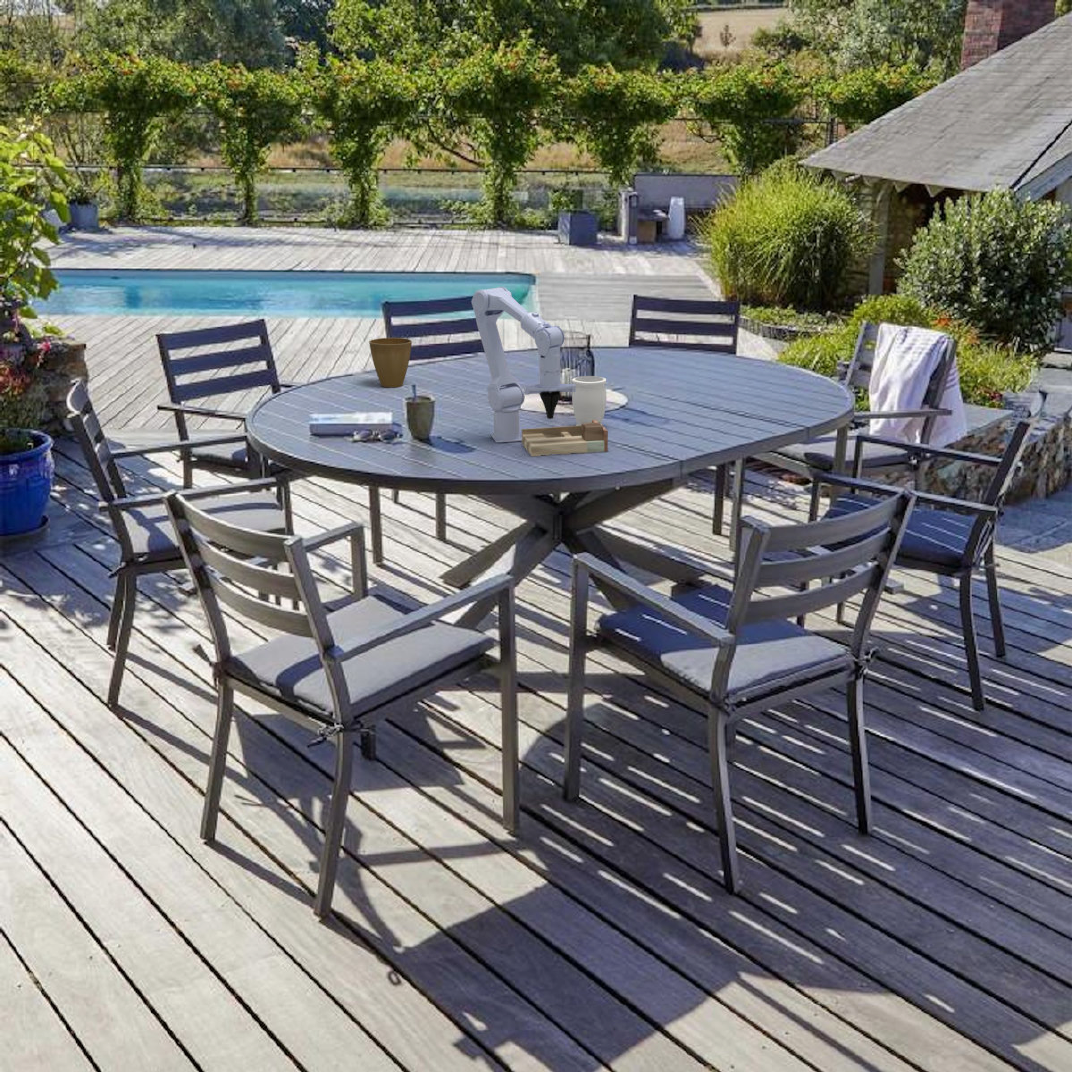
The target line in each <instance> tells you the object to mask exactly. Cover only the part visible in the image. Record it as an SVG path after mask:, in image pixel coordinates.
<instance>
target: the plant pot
mask: <svg viewBox="0 0 1072 1072" xmlns="http://www.w3.org/2000/svg"><path fill="white" fill-rule="evenodd" d="M368 343H369V349H370V353H371V358H372V362H373V366H374V369H375V370H374V371H375V373H376V376H377V378H378V381H379V383H380V386H381V387H383V386H385V387H384V388H389V387H393V388H400V387H403V384H404V382H405V379H406V375H407V371H408V368H409V363H410V358H411V350H412V343H413V340H412V339H410V338H404V337H382V338H380V337H379V338H375V339H370V340H369V341H368ZM399 386H400V387H399Z"/></svg>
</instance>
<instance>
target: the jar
mask: <svg viewBox="0 0 1072 1072" xmlns="http://www.w3.org/2000/svg"><path fill="white" fill-rule="evenodd" d="M571 381H572V384H575V385H576V392H571V393H572V395H571V397H572V399H571V400H572V401H571V402H572V407H573V414H574V418H575V420H576V424H575V426H582V423H592V420H596V421H597V422H599V423H600V424H601V425H602V426H603V423H602V421H603V419H604V417H605V412H606V406H607V389H606V386H605V384H607V378H605V377H602V376H597V375H596V376H595V375H584V376H577V377H573V378H572V380H571ZM603 427H604V426H603Z"/></svg>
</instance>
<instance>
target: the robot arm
mask: <svg viewBox="0 0 1072 1072" xmlns="http://www.w3.org/2000/svg"><path fill="white" fill-rule="evenodd" d="M512 295H513V294H512V292H511V291H509V290H508V289H507V288H506V287H505V286H498V287H496V288H495V287H494V288H488V289H487V288H486V289H478V290H476V291H475V292H474V294H473V297H472V299H471V301H470V303H471V306H472V309H473V313H474V315H475V322H476V325H477V329H478V332H479V336H480V337H479V338H480V340H481V344H482V346H483V347H482V348H483V350H484V354H485V357H486V361H487V365H488V368H489V371H490V375H491V381H490V382H489V384H488V385H487V387H486V389H487V391H488V392H487V395H488V398H487V400H488V404H489V406H490V408H491V409H492V411H494V413H493V433H491V434H490V436H491V437H492V438H493V441H495V443H506V442H507V443H510V442H511V443H512V442H522V436H521V435H520V409H521V408H522V405H523V404H524V402H525V400H526V399H525V396H526V395H527V396H529V395H534V394H536V395H537V394H538V395H539V397H540V399H541V401H542V404H543V406H544V409H545V414H546V418H547V420H552V419H554V414H555V411H556V408H557V404H558V403H559V401H560V399H561V396H562V394H561V393H570V392H571V393H573V392H576V385H575V384H573V383H571V384H570V383H561V346H562V345H564V343H565V332H564V331H563V329H562V328H561V327H560V326H559V325H551V324H550V323H549V322H548V321H546V320H544V319H543V318H542V317H541V316H540V315H539V313H538V312H533V311H531V312H528V311H527V309H525V308H524V307H523V306H522V305H521V304H520V303H518V301H517V300H516V299H514V297H513V296H512ZM504 313H506V314H508V315H509V316H510V317H512V318H514V320H517V321H518V322H520V328H521V329H522V330H523V331H524V332H526V334H527V335H529V337H531V338H532V339H534V342H535V345H536V348H537V354H538V355H539V384H535V385H528V386H523V388H522V386H521V384H520V381H519V379H518V378H516V377H515V376H513V375H512V373H511V371H510V368H509V366H508V362H507V357H506V354H505V350H504V348H503V343H502V340H501V336H500V333H499V329H498V326H497V321H498V319H499V318H500V317H501V316H502V315H503V314H504Z"/></svg>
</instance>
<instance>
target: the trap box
mask: <svg viewBox="0 0 1072 1072" xmlns="http://www.w3.org/2000/svg"><path fill="white" fill-rule="evenodd" d="M592 423H597V421H596V420H592ZM521 438H522V441H521V445H522V444H523V445H524V446H523V445H522V446H523V448H524V449H525V448H526V449H525V450H526V451H527V453H528V454H529V453H530V454H531V455H530V454H529V455H530V456H531V457H541V455H546V456H550V455H549V454H561V455H571V453H577V454H590V453H606V452H607V453H608V451H609V450H608V449H609V445H608V443H609V442H608V441H609V439H608V438H609V430H608V429H606V428H605V427H604V426H603V440H597V441H585V440H584V439H583V438H582V426H576V425H570V426H554V427H553V426H552V427H551V426H550V427H536V428H535V427H534V428H521Z"/></svg>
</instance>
